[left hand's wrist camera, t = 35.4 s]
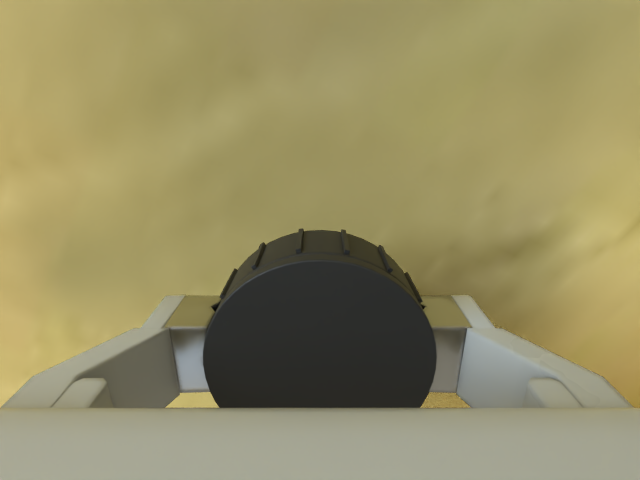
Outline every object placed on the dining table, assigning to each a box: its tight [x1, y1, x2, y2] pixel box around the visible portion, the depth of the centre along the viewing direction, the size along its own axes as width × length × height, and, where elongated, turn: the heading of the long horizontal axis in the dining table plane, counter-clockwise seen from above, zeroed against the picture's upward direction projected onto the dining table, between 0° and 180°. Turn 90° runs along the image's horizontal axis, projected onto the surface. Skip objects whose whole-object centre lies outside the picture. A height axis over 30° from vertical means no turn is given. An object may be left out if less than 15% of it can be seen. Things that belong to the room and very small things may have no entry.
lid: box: [203, 229, 437, 408], centre depth 9 cm, size 5×5×2 cm
